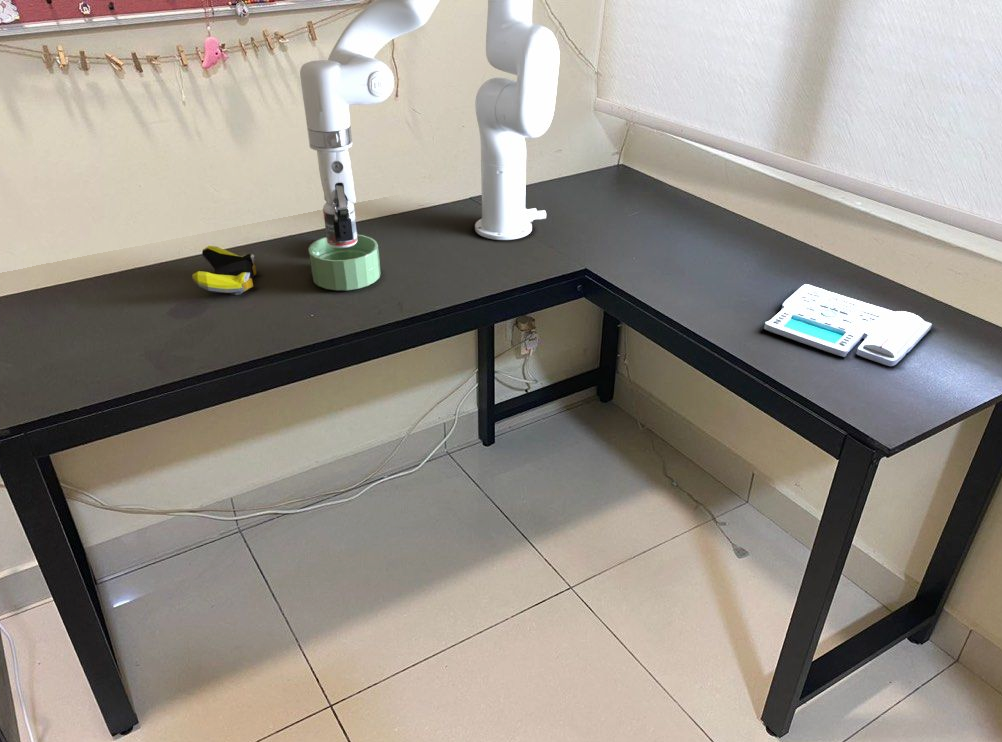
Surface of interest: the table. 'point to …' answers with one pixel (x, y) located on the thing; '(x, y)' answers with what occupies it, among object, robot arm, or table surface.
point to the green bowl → (345, 264)
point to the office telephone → (847, 325)
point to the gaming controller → (226, 272)
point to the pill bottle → (330, 226)
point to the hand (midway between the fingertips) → (341, 233)
